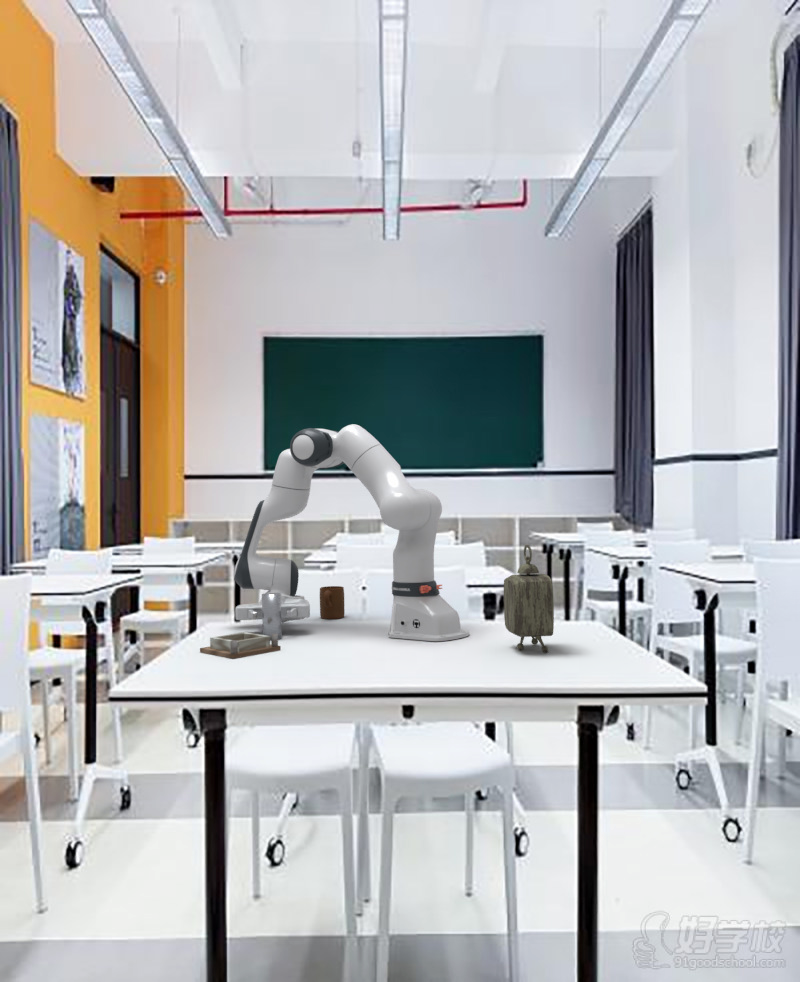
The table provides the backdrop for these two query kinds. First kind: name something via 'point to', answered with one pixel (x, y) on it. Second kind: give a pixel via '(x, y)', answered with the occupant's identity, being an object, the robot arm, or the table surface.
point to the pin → (271, 614)
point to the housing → (241, 645)
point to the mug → (332, 602)
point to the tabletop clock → (529, 604)
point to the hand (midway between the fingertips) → (271, 614)
